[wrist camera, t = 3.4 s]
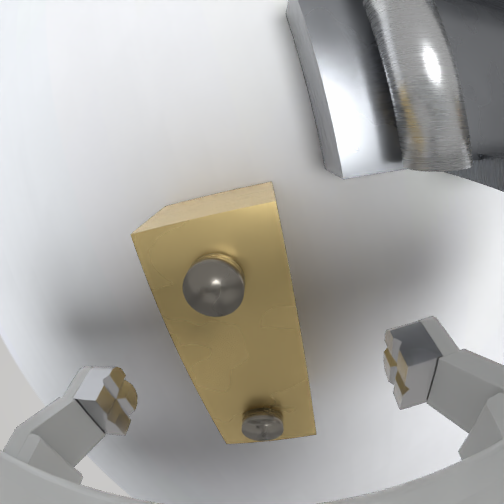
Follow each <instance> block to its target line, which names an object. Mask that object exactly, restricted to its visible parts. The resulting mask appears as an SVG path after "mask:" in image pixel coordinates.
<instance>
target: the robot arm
mask: <svg viewBox="0 0 504 504" xmlns="http://www.w3.org/2000/svg"><path fill="white" fill-rule="evenodd" d="M385 343H386V345H387V349H386V350H385V351H384V368H385V372H386V376H387V378H388V381H389V382H390V383H392V384H393V385H394V391H393V394H394V396H395V399H396V402H397V404H398V407H399V409H400V410H402V409H405V408H408V407H412V406H415V405H418V404H422V403H425V402H427V404H428V405H430V406H431V407H433V408H434V409H435V410H437V411H438V412H440V413H441V414H442V415H444V416H445V417H446V418H448V419H449V420H451V421H452V422H453V423H455V424H456V425H458V426H459V427H460V428H462V429H463V430H465V431H466V432H468V433H469V434H468V436H467V438H466V439H465V441H464V442H463V444H462V446H461V447H460V449H459V451H458V452H459V454H460V457H461V459H462V460H461V461H459V462H457V463H455V464H453V465H450V466H448V467H446V468H444V469H441V470H439V471H436V472H434V473H431V474H429V475H426V476H423V477H421V478H418V479H415V480H412V481H409V482H406V483H403V484H400V485H397V486H394V487H390V488H387V489H383V490H380V491H376V492H372V493H368V494H364V495H360V496H356V497H351V498H346V499H341V500H336V501H330V502H324V503H318V504H504V365H501V364H499V363H497V362H494V361H492V360H490V359H487V358H485V357H483V356H480V355H478V354H475V353H473V352H471V351H468V350H466V349H462V350H459V348H458V347H457V345H456V344H455V343H454V341H453V340H452V338H451V337H450V336H449V334H448V333H447V331H446V330H445V329H444V327H443V326H442V325H441V323H440V322H439V321H438V319H437V318H436V317H434V316H431V317H428V318H424V319H421V320H418V321H416V322H412V323H409V324H405V325H402V326H398V327H395V328H391V329H387V330H386V332H385ZM125 377H126V375H125V373H124V372H123V371H122V369H121V368H118V367H99V366H94V367H90V366H84V367H82V368H80V370H79V371H78V373H77V374H76V376H75V377H74V379H73V381H72V382H71V384H70V385H69V387H68V389H67V390H66V392H65V394H64V395H63V397H62V398H61V397H59V398H58V399H56V400H55V401H53V402H52V403H50V404H49V405H48V406H46V407H45V408H43V409H42V410H40V411H39V412H38V413H36V414H35V415H33V416H32V417H30V418H29V419H27V420H26V421H25V422H23V423H22V424H20V425H19V426H17V427H16V429H15V431H14V432H13V434H12V436H11V437H10V439H9V441H8V443H7V445H6V446H5V448H4V450H3V452H2V451H0V504H163V503H156V502H150V501H144V500H139V499H134V498H129V497H124V496H120V495H116V494H112V493H108V492H104V491H101V490H97V489H93V488H90V487H87V486H84V485H81V481H82V479H83V476H82V474H81V473H80V472H79V471H77V470H76V469H75V468H74V467H75V466H76V465H77V464H78V463H79V462H80V461H81V460H82V459H83V458H84V456H86V455H87V454H88V453H89V452H90V451H91V450H92V449H93V448H94V447H95V445H96V444H97V443H98V442H99V441H100V440H101V439H102V438H103V437H104V436H105V435H106V434H112V435H123V436H125V435H126V432H127V430H128V427H129V425H130V422H131V419H130V416H129V415H130V414H131V413H133V412H134V411H135V409H136V406H137V393H136V390H135V389H134V387H133V385H132V384H130V383H129V382H127V381H126V380H125Z"/></svg>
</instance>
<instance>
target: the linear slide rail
mask: <svg viewBox="0 0 504 504" xmlns="http://www.w3.org/2000/svg"><path fill="white" fill-rule="evenodd" d="M286 16H287V19H288V22H289V25H290V28H291V32H292V35H293V38H294V41H295V45H296V48H297V52H298V55H299V59H300V62H301V66H302V69H303V73H304V77H305V81H306V84H307V88H308V92H309V96H310V100H311V104H312V108H313V113H314V117H315V121H316V126H317V130H318V135H319V139H320V144H321V149H322V154H323V159H324V164H325V169H326V170H328V171H330V172H331V173H333V174H335V175H337V176H338V177H340V178H342V179H349V178H354V177H360V176H366V175H372V174H378V173H385V172H391V171H398V170H404V169H410V170H417V171H445V172H446V173H450V174H453V175H456V176H460V177H463V178H466V179H469V180H472V181H475V182H478V183H481V184H484V185H487V186H489V187H492V188H495V189H498V190H500V191H503V192H504V0H288V5H287V10H286Z"/></svg>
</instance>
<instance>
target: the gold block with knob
mask: <svg viewBox="0 0 504 504" xmlns="http://www.w3.org/2000/svg"><path fill="white" fill-rule="evenodd" d="M131 237H132V240H133V243H134V246H135V249H136V252H137V254H138V257H139V260H140V263H141V265H142V268H143V271H144V273H145V276H146V278H147V281H148V284H149V286H150V289H151V291H152V294H153V296H154V299H155V301H156V303H157V306H158V308H159V311H160V313H161V315H162V318H163V320H164V322H165V325H166V327H167V329H168V331H169V334H170V336H171V338H172V340H173V342H174V345H175V347H176V349H177V351H178V353H179V355H180V357H181V360H182V362H183V364H184V366H185V368H186V370H187V372H188V374H189V376H190V378H191V380H192V382H193V384H194V386H195V388H196V390H197V392H198V394H199V395H200V397H201V399H202V401H203V403H204V405H205V407H206V409H207V410H208V412H209V414H210V416H211V418H212V419H213V421H214V423H215V425H216V427H217V428H218V430H219V432H220V433H221V435H222V437H223V439H224V440H225V442H226V444H236V443H251V442H263V441H273V440H282V439H289V438H297V437H303V436H310V435H316V428H315V420H314V413H313V406H312V399H311V392H310V386H309V379H308V373H307V366H306V360H305V354H304V348H303V342H302V336H301V330H300V324H299V319H298V313H297V307H296V302H295V296H294V291H293V285H292V280H291V274H290V269H289V264H288V259H287V253H286V248H285V243H284V238H283V233H282V228H281V223H280V218H279V213H278V208H277V204H276V199H275V194H274V189H273V185H272V182H267V183H262V184H257V185H253V186H248V187H243V188H239V189H234V190H230V191H225V192H221V193H217V194H212V195H208V196H204V197H200V198H196V199H192V200H188V201H184V202H180V203H176V204H172V205H168V206H165V207H164V208H163V209H161V210H160V211H159V212H157V213H156V214H155V215H154V216H152V217H151V218H150V219H149V220H147V221H146V222H145V223H144V224H143V225H141V226H140V227H139V228H138V229H136V230H135V231H134V232H133V233H132V234H131Z"/></svg>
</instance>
